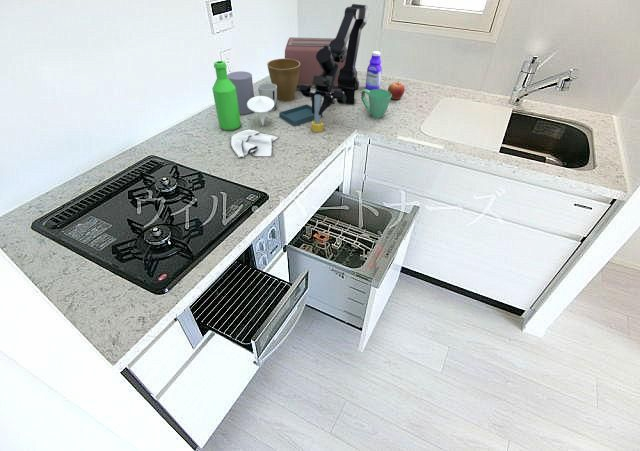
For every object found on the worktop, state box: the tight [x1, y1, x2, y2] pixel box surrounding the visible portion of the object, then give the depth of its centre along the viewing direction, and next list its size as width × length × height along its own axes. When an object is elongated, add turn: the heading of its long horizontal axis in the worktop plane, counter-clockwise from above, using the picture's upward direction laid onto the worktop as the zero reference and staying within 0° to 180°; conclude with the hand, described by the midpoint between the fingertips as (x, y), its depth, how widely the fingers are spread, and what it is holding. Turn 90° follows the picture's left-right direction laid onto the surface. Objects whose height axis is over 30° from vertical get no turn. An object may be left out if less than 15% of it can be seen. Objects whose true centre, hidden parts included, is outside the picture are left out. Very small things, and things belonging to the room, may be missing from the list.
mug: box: [360, 88, 392, 119], centre depth 148 cm, size 15×10×10 cm
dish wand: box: [311, 94, 324, 133], centre depth 134 cm, size 5×5×14 cm
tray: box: [278, 103, 323, 127], centre depth 147 cm, size 15×11×2 cm
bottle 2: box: [365, 50, 383, 91], centre depth 169 cm, size 7×6×17 cm
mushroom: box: [247, 95, 274, 127], centre depth 137 cm, size 10×11×12 cm
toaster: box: [284, 36, 348, 93], centre depth 171 cm, size 19×34×20 cm, turn 89°
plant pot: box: [266, 58, 300, 102], centre depth 158 cm, size 15×15×16 cm
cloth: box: [230, 129, 279, 158], centre depth 127 cm, size 20×22×2 cm
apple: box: [387, 81, 406, 100], centre depth 163 cm, size 8×8×8 cm
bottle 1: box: [212, 60, 242, 131], centre depth 131 cm, size 9×9×25 cm
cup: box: [257, 82, 278, 112], centre depth 150 cm, size 8×8×10 cm
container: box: [227, 70, 255, 115], centre depth 147 cm, size 10×10×15 cm
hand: (316, 114), depth 133 cm, fingers closed on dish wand, 2 cm apart
